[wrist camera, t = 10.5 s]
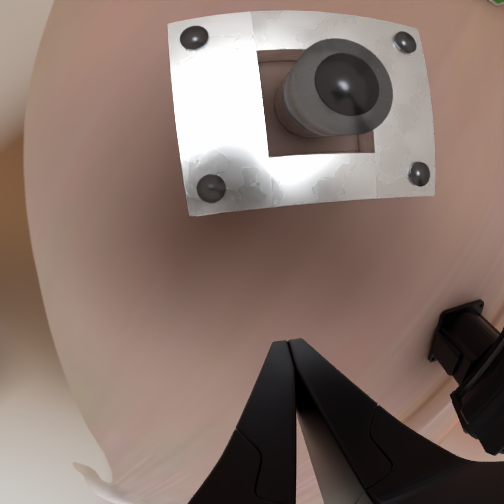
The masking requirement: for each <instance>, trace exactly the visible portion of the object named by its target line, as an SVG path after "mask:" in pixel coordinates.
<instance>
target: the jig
mask: <svg viewBox="0 0 504 504" xmlns="http://www.w3.org/2000/svg"><path fill="white" fill-rule="evenodd" d="M331 38H340V39H347V40H350V41H353V42H356V43H358V44H360V45H362V46H364V47H366V48H367V49H368V50H370V51H371V52H372V53H373V54H375V55H376V56H377V58H378V59H379V60H380V61H381V62H382V64H383V65H384V67H385V68H386V70H387V72H388V74H389V77H390V80H391V83H392V88H393V101H392V106H391V109H390V112H389V114H388V116H387V117H386V119H385V120H384V121H383V123H382V124H381V125H379V126H378V127H377V128H376V129H374V130H372V131H370V132H367V133H364V134H359V135H358V138H359V151H357V152H323V153H304V154H289V155H277V156H268V147H267V138H266V129H265V119H264V111H263V102H262V94H261V85H260V77H259V69H258V62H263V61H285V60H298V59H299V58H300V56H301V55H302V53H303V52H304V51H305V50H306V49H307V48H308V47H310V46H311V45H313V44H314V43H316V42H318V41H321V40H325V39H331ZM168 40H169V55H170V68H171V80H172V90H173V100H174V110H175V119H176V127H177V136H178V144H179V151H180V159H181V166H182V173H183V180H184V186H185V193H186V199H187V205H188V211H189V217H196V216H203V215H211V214H219V213H227V212H235V211H244V210H252V209H261V208H271V207H280V206H290V205H301V204H312V203H323V202H335V201H348V200H362V199H378V198H395V197H415V196H435V143H434V126H433V114H432V105H431V96H430V89H429V82H428V76H427V70H426V65H425V59H424V54H423V50H422V45H421V41H420V37H419V33H418V29H417V28H413V27H409V26H405V25H401V24H397V23H393V22H388V21H383V20H378V19H373V18H367V17H361V16H354V15H347V14H338V13H328V12H314V11H253V12H239V13H229V14H220V15H213V16H206V17H200V18H194V19H188V20H183V21H178V22H173V23H169V24H168Z"/></svg>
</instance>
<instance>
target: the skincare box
mask: <svg viewBox="0 0 504 504" xmlns="http://www.w3.org/2000/svg"><path fill="white" fill-rule="evenodd" d="M489 1H490V2H491V3H492V4H494V5H495V6H500V5H503V4H504V0H489Z"/></svg>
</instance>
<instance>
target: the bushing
mask: <svg viewBox="0 0 504 504" xmlns="http://www.w3.org/2000/svg"><path fill="white" fill-rule="evenodd" d="M392 101H393V88H392V83H391V80H390V77H389V74H388V72H387V70H386V68H385V67H384V65H383V64H382V62H381V61H380V60H379V59H378V58H377V56H376V55H375V54H373V53H372V52H371V51H370V50H368V49H367V48H366V47H364V46H362V45H360V44H358V43H356V42H353V41H350V40H347V39H340V38H331V39H325V40H321V41H318V42H316V43H314V44H313V45H311V46H310V47H308V48H307V49H306V50H305V51H304V52H303V53H302V55H301V56H300V58H299V59H298V60H297V62H296V63H295V65H294V66H293V68H292V69H291V70H290V72H289V73H288V75H287V76H286V78H285V79H284V81H283V82H282V84H281V85H280V87H279V88H278V90H277V92H276V95H275V99H274V108H275V112H276V115H277V117H278V119H279V121H280V123H281V124H282V125H283V126H284V127H285V128H286V129H287V130H288V131H290V132H291V133H293V134H295V135H297V136H300V137H304V138H318V137H330V136H344V135H359V134H364V133H367V132H370V131H372V130H374V129H376V128H377V127H378V126H379V125H381V124H382V123H383V121H384V120H385V119H386V117H387V116H388V114H389V112H390V109H391V106H392Z"/></svg>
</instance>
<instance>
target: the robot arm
mask: <svg viewBox="0 0 504 504" xmlns="http://www.w3.org/2000/svg"><path fill="white" fill-rule="evenodd" d="M483 306H484V302H483V301H482V300H479V301H476V302H473V303H470V304H466V305H463V306H460V307H457V308H454V309H450V310H447V311H444V312H443V313H442V315H441V317H440V321H439V325H438V328H437V332H436V335H435V338H434V342H433V345H432V348H431V351H430V354H429V357H428V360H429V361H430V362H434V361H437V360H438V361H439V363H440V364H441V365H442V367H443V368H444V370H445V371H446V372H447V374H448V375H449V376H451V375H452V376H453V377H454V379H455V380H456V381H457V383H458V384H459V387H458V388H457V389H456V390H455V391H453V392H452V393H451V394H450V397H451V399H452V403H453V406H454V408H455V411H456V413H457V415H458V418H459V420H460V423H461V425H462V428H463V431H464V432H465V433H466V434H470V435H471V436H472V437H473V438H475V439H479V441H480V443H481V444H482V446H483V448H484V450H485V451H486V452H487V453H489V454H491V455H494V456H495V455H497V454H498V453H501V454H504V328H503V330H502V332H501V333H500V332H499V331H498V330H497V329H496V328H495V327H493V326H492V325H491V324H490V323H489V322H488V321H487V320H486V319H485V318H484V317H483V316H482V315H481V313H482V310H483ZM296 413H297V416H298V420H299V423H300V426H301V430H302V433H303V436H304V439H305V443H306V446H307V449H308V452H309V456H310V459H311V462H312V465H313V469H314V472H315V475H316V478H317V481H318V485H319V488H320V491H321V494H322V497H323V501H324V504H504V461H503V462H502V461H500V462H477V461H471V460H467V459H464V458H461V457H458V456H456V455H454V454H452V453H451V452H449V451H447V450H445V449H443V448H442V447H440V446H438V445H437V444H435V443H433V442H431V441H430V440H428V439H426V438H425V437H423V436H421V435H420V434H418V433H416V432H415V431H413V430H412V429H410V428H409V427H407V426H406V425H404V424H403V423H401V422H400V421H399V420H397V419H396V418H395V417H394V416H392V415H391V414H390V413H388V412H387V411H386V410H385V409H384V408H382V407H381V406H380V405H378V406H377V403H376V402H375V401H374V400H373V399H371V398H370V397H369V396H368V395H367V394H366V393H364V392H363V391H362V390H361V389H360V388H358V387H357V386H356V385H355V384H354V383H353V382H351V381H350V380H349V379H348V378H347V377H346V376H344V375H343V374H342V373H341V372H340V371H339V370H337V369H336V368H335V367H334V366H333V365H332V364H331V363H329V362H328V361H327V360H326V359H325V358H324V357H323V356H321V355H320V354H319V353H318V352H317V351H316V350H315V349H313V348H312V347H311V346H310V345H309V344H308V343H307V342H306V341H304V340H303V339H301V338H299V339H291V340H289V341H288V342H287V341H285V340H284V341H276V342H273V343H272V345H271V347H270V350H269V352H268V355H267V357H266V359H265V362H264V364H263V367H262V369H261V371H260V374H259V376H258V378H257V381H256V383H255V385H254V388H253V390H252V392H251V395H250V397H249V399H248V401H247V404H246V406H245V408H244V410H243V413H242V415H241V417H240V419H239V421H238V424H237V426H236V430H234V432H233V434H232V436H231V438H230V440H229V442H228V444H227V446H226V448H225V450H224V452H223V454H222V456H221V457H220V459H219V460H218V462H217V464H216V465H215V467H214V468H213V470H212V471H211V473H210V474H209V476H208V477H207V478H206V480H205V481H204V482H203V484H202V485H201V487H200V488H199V489H198V491H197V492H196V493H195V494H194V496H193V497H192V498H191V500H190V501H189V502H188V504H296Z"/></svg>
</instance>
